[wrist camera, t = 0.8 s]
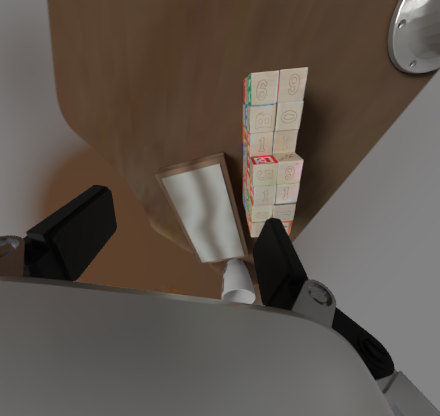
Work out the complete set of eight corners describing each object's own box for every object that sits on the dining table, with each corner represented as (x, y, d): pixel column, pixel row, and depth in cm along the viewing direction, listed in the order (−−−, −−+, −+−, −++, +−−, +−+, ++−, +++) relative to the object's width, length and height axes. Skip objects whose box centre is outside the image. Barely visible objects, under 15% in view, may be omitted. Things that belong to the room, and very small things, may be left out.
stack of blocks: (241, 79, 26) (256, 66, 16) (283, 75, 26) (326, 60, 15) (242, 199, 37) (250, 238, 27) (270, 198, 37) (290, 236, 27)
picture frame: (223, 151, 32) (223, 156, 29) (247, 247, 45) (249, 257, 43) (159, 168, 33) (154, 175, 31) (201, 256, 47) (199, 265, 44)
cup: (218, 257, 48) (217, 292, 39) (247, 252, 46) (252, 286, 38) (225, 275, 52) (226, 309, 43) (251, 271, 51) (257, 305, 42)
